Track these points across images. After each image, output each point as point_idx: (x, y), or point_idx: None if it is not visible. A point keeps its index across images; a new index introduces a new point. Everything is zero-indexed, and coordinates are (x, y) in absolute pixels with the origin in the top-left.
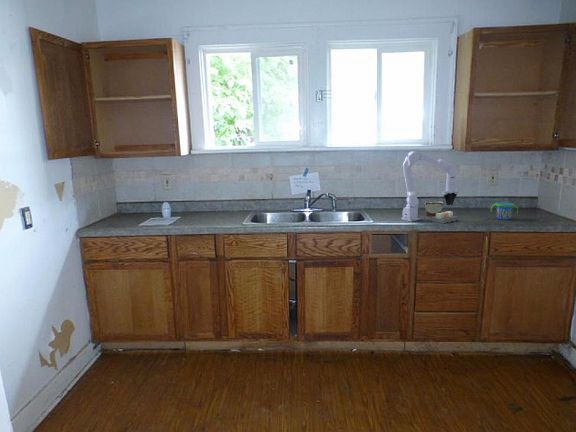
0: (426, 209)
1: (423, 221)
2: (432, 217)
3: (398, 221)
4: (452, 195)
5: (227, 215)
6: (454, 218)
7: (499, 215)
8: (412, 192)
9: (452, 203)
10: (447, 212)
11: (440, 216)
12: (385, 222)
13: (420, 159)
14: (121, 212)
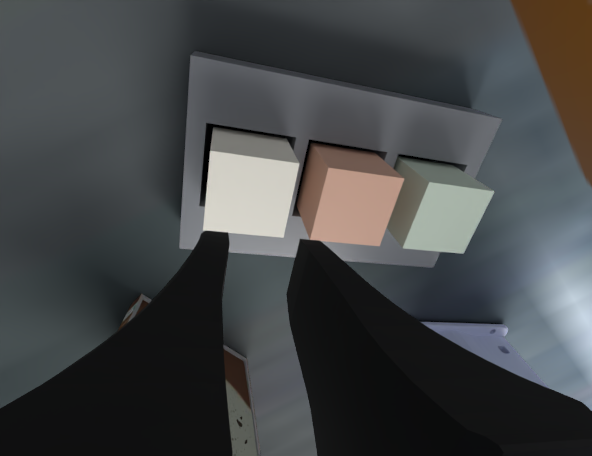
0: (251, 422)
1: (457, 273)
2: (435, 253)
3: (531, 362)
4: (486, 424)
5: None
6: (269, 69)
7: None
8: None
9: (222, 241)
10: (290, 198)
11: (475, 179)
12: (586, 381)
13: None
14: None
